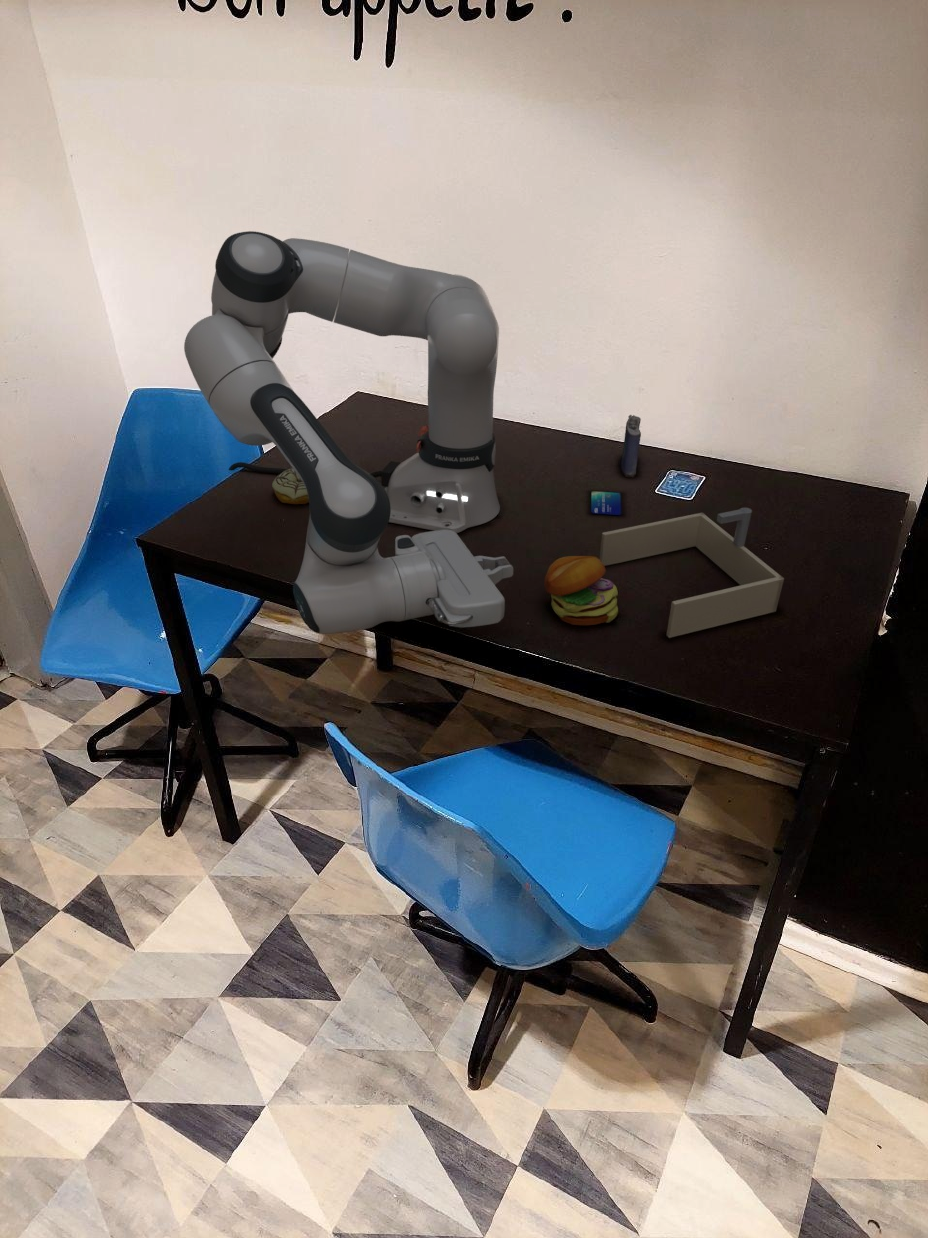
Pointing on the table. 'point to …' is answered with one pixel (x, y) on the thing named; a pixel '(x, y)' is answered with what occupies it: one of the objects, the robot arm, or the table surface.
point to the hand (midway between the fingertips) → (509, 566)
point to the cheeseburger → (581, 591)
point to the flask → (631, 446)
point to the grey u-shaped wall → (716, 544)
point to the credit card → (605, 503)
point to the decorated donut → (290, 488)
